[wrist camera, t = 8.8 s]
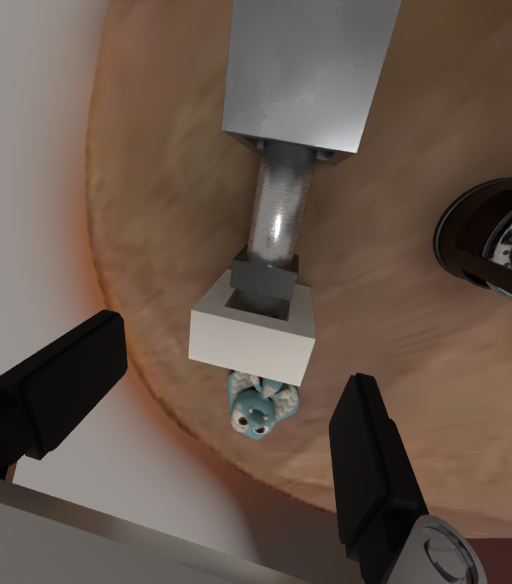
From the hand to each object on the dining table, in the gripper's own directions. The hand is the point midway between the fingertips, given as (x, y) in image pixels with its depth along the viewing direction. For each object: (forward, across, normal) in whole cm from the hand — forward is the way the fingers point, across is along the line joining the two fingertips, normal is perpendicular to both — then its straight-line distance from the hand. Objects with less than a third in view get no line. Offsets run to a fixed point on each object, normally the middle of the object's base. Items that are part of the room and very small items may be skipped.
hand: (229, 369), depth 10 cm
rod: (+16, 0, -3) cm, 16 cm away
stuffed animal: (+19, -2, +20) cm, 28 cm away
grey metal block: (+19, 0, -14) cm, 24 cm away
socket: (+19, 0, +6) cm, 20 cm away
